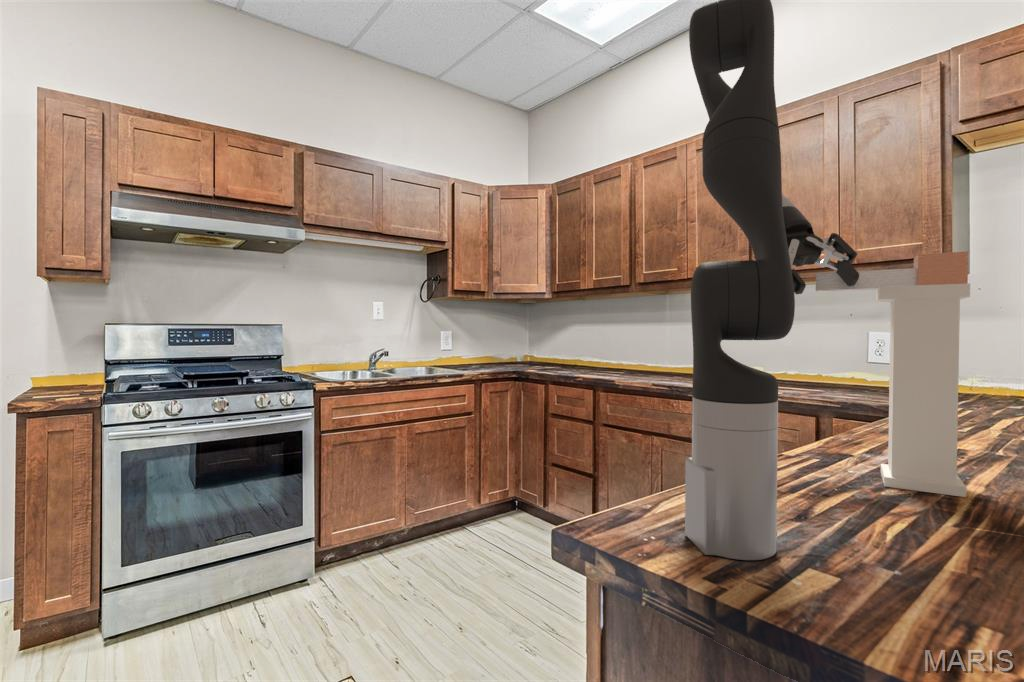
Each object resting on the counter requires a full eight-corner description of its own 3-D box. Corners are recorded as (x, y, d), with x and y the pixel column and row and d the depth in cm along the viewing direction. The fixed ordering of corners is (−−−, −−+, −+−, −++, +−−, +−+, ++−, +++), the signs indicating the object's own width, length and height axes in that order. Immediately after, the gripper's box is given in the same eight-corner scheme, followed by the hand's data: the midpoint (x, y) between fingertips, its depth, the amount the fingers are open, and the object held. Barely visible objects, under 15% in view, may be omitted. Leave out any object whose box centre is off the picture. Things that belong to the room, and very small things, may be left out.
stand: (876, 485, 84) (879, 286, 83) (873, 471, 92) (876, 290, 92) (966, 497, 78) (970, 283, 77) (954, 480, 86) (957, 288, 86)
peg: (815, 289, 90) (815, 260, 90) (816, 292, 95) (817, 264, 95) (967, 284, 79) (968, 251, 79) (959, 287, 84) (960, 256, 84)
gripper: (744, 211, 87) (792, 275, 77) (824, 199, 88) (883, 261, 78) (732, 246, 93) (776, 310, 83) (808, 234, 94) (861, 296, 83)
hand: (828, 286), depth 80 cm, fingers open, 8 cm apart
